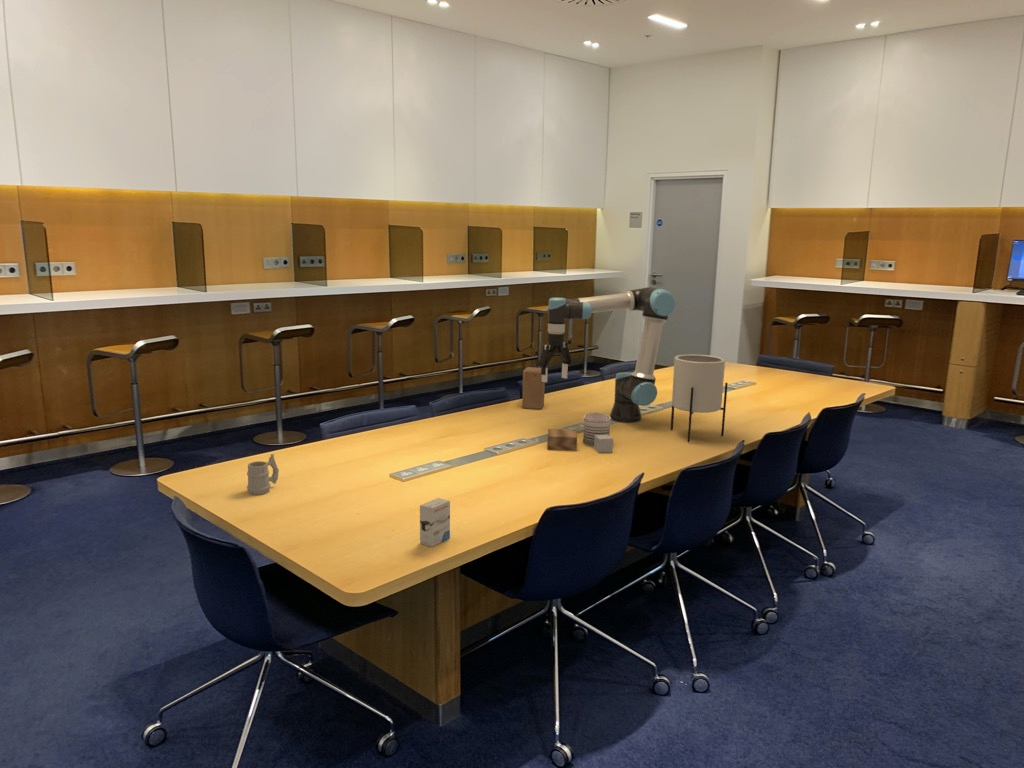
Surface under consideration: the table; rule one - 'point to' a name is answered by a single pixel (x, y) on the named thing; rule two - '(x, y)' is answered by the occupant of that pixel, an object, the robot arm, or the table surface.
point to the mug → (261, 476)
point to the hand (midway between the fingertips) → (554, 380)
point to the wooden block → (533, 388)
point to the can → (595, 427)
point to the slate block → (603, 443)
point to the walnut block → (562, 439)
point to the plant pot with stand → (698, 385)
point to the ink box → (434, 522)
